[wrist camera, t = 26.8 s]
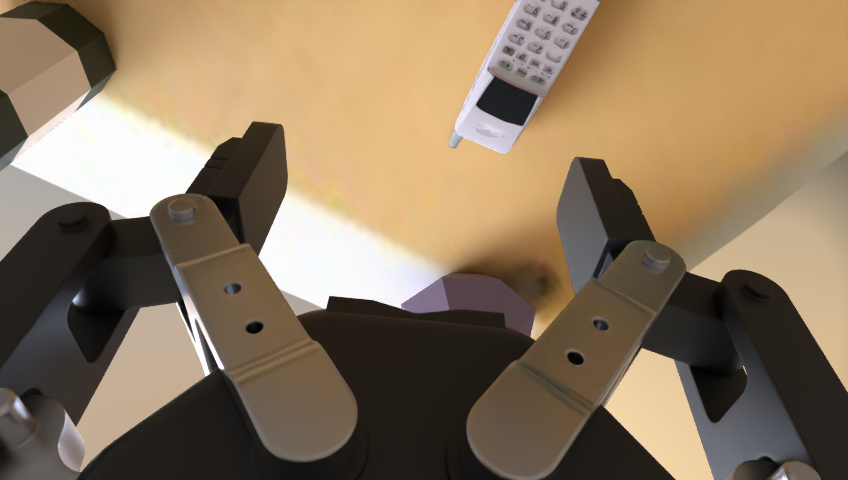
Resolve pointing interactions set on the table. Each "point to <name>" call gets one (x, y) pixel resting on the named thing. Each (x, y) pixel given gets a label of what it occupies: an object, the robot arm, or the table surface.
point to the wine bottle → (46, 71)
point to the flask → (474, 299)
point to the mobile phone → (521, 70)
